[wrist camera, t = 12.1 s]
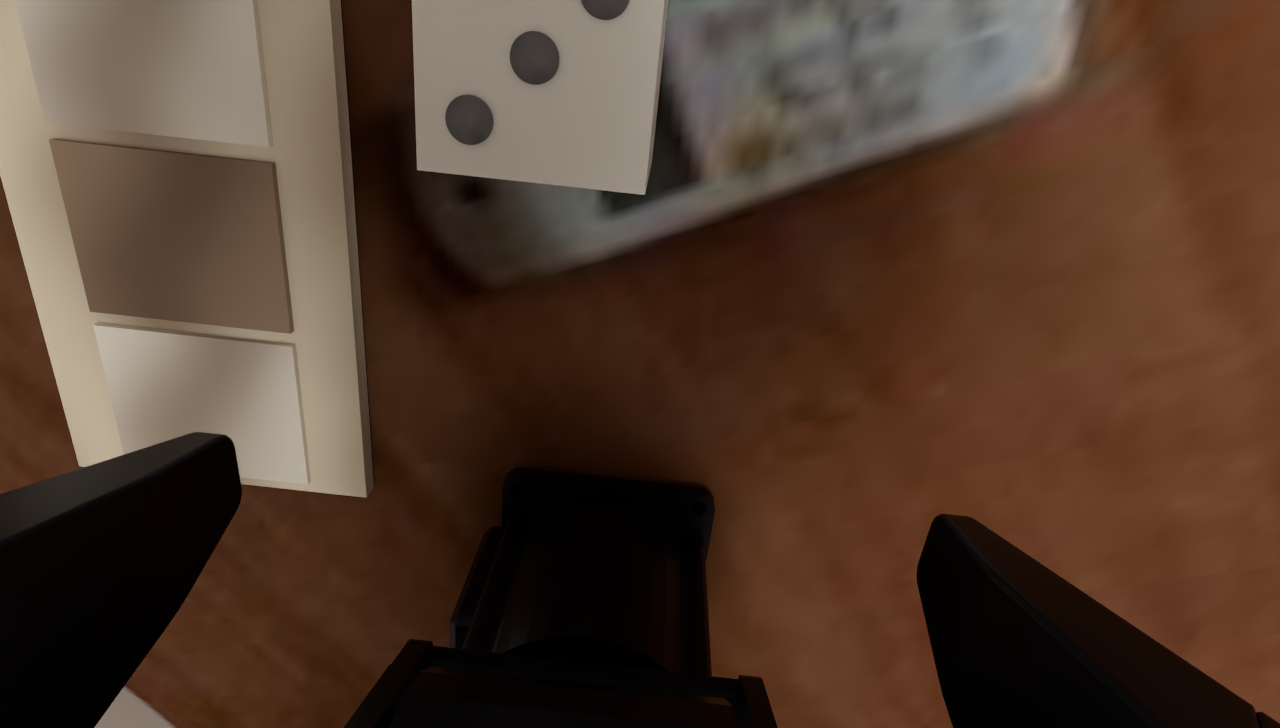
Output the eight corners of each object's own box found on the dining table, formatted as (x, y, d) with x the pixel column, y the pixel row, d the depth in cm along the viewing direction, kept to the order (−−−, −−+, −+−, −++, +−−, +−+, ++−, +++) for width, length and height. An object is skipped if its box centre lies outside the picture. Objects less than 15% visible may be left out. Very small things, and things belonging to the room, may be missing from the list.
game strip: (315, -368, 14) (295, -390, 13) (374, 486, 22) (363, 501, 22) (-132, -415, 14) (-177, -440, 13) (93, 455, 22) (74, 469, 22)
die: (672, -42, 16) (671, -72, 12) (652, 161, 18) (644, 195, 14) (476, -63, 16) (407, -101, 12) (476, 141, 18) (415, 170, 14)
